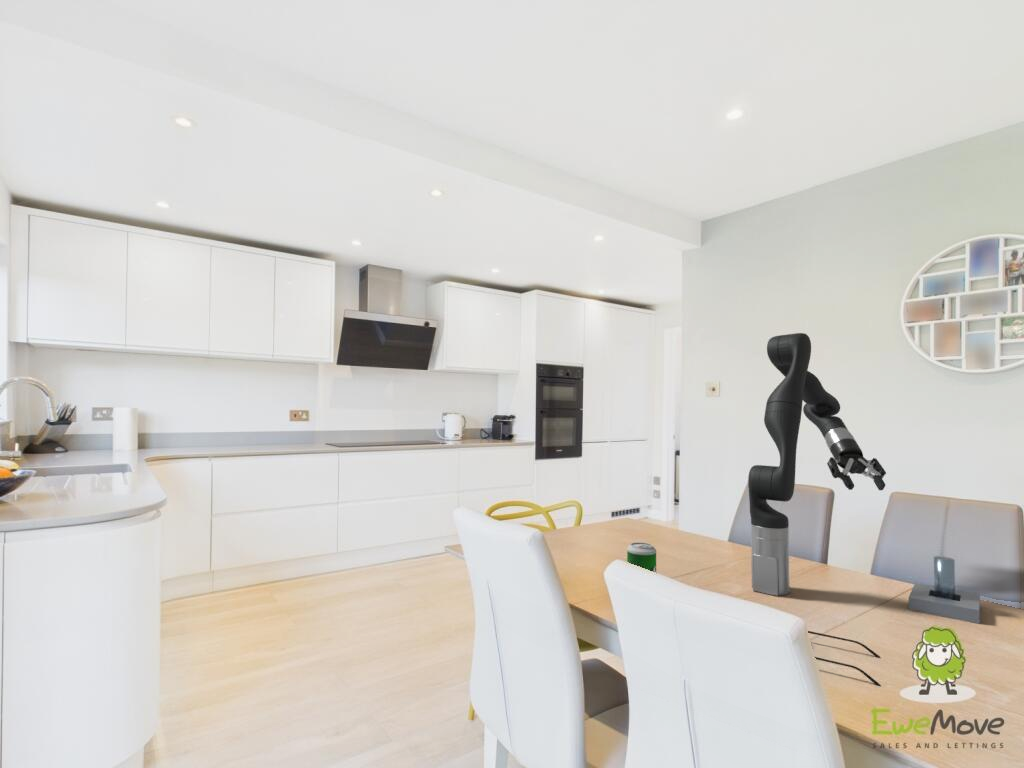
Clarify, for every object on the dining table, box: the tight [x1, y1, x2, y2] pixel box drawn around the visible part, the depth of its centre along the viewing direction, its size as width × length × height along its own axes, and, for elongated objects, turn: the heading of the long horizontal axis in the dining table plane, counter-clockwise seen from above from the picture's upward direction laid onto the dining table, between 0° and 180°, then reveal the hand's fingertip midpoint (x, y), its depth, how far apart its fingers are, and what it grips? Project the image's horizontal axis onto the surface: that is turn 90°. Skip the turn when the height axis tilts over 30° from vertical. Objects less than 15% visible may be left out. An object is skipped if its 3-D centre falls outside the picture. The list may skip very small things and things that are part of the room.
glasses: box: [807, 630, 882, 687], centre depth 104 cm, size 14×16×5 cm
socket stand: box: [908, 582, 981, 625], centre depth 133 cm, size 16×13×3 cm
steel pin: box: [933, 555, 956, 600], centre depth 133 cm, size 4×4×12 cm
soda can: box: [626, 541, 657, 573], centre depth 143 cm, size 8×8×12 cm
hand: (867, 488), depth 153 cm, fingers open, 8 cm apart
